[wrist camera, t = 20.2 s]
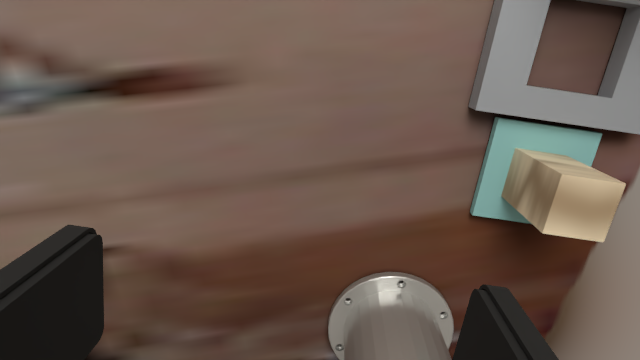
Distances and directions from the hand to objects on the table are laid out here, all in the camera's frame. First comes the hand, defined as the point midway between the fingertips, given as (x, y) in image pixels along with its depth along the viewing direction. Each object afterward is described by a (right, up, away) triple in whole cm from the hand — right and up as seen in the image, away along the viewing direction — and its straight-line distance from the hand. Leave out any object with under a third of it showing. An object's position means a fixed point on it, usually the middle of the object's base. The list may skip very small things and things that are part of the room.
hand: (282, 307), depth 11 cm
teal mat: (+20, +4, +28) cm, 34 cm away
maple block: (+20, +4, +27) cm, 34 cm away
